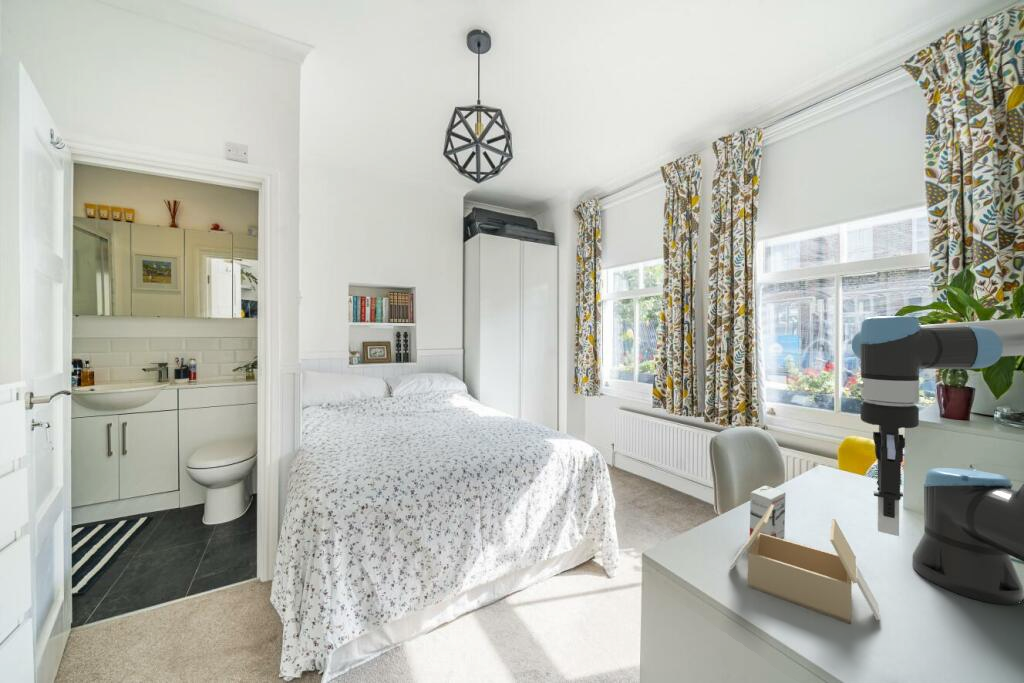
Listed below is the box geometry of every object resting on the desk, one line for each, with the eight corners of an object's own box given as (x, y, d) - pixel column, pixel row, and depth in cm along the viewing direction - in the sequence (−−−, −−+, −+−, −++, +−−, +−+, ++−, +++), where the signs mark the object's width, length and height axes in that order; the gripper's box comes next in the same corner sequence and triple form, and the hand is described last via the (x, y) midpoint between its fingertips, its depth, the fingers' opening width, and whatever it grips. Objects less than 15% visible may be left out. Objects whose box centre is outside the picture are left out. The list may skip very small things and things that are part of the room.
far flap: (774, 505, 86) (771, 503, 86) (766, 523, 78) (763, 521, 78) (739, 553, 90) (737, 552, 91) (729, 575, 82) (726, 573, 83)
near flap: (830, 540, 71) (833, 539, 71) (831, 519, 79) (834, 518, 79) (877, 628, 67) (881, 628, 67) (874, 597, 75) (877, 597, 75)
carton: (850, 592, 78) (851, 558, 78) (851, 624, 70) (851, 585, 69) (757, 562, 88) (757, 532, 88) (747, 586, 80) (748, 552, 80)
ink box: (770, 546, 95) (770, 498, 95) (748, 537, 99) (749, 491, 99) (785, 536, 100) (786, 490, 99) (764, 528, 104) (765, 484, 103)
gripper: (859, 395, 77) (859, 513, 78) (861, 405, 67) (861, 540, 68) (913, 399, 72) (913, 524, 73) (924, 410, 62) (923, 555, 63)
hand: (888, 532), depth 70 cm, fingers closed
